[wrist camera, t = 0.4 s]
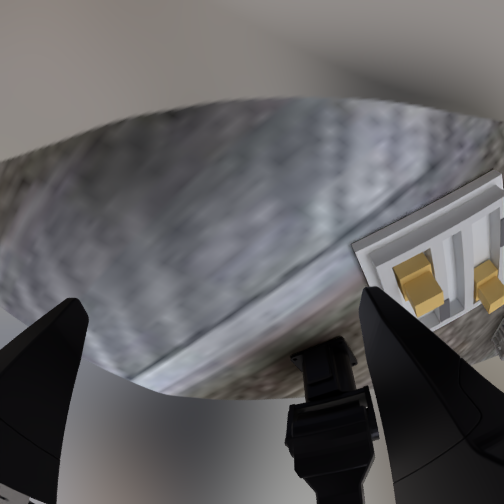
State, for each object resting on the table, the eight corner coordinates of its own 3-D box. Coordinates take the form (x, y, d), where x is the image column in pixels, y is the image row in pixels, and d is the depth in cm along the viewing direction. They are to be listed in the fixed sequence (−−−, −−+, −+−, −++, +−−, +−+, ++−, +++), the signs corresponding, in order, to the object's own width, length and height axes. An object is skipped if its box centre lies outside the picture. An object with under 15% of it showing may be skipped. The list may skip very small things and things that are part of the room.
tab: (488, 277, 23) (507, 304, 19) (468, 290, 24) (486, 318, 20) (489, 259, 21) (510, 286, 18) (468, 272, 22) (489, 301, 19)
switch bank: (496, 272, 24) (509, 289, 22) (387, 332, 29) (395, 354, 27) (493, 169, 17) (515, 183, 15) (351, 244, 22) (362, 267, 20)
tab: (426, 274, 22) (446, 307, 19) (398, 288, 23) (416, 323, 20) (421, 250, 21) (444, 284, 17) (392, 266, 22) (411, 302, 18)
